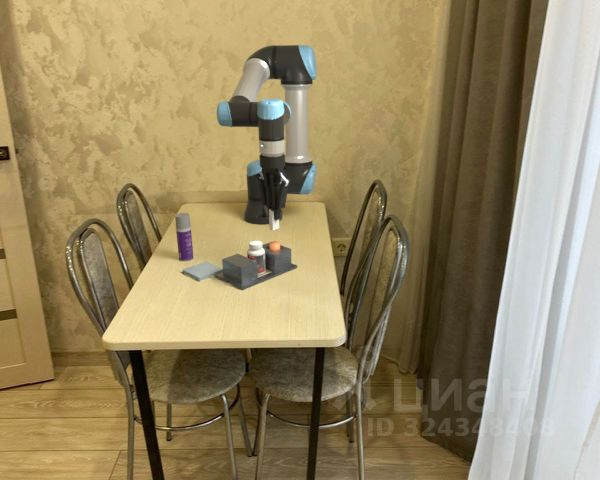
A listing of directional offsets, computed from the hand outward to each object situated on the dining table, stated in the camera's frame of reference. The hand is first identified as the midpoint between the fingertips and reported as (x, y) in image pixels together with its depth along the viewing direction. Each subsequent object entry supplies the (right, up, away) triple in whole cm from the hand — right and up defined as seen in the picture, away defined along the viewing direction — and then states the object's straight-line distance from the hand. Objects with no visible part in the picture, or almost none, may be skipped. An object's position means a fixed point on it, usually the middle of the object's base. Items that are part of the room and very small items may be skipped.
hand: (274, 228), depth 168 cm
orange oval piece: (0, -9, +3) cm, 10 cm away
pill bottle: (-5, -14, -1) cm, 15 cm away
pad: (-22, -13, -1) cm, 26 cm away
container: (-29, -10, +10) cm, 32 cm away
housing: (-5, -13, -1) cm, 15 cm away
